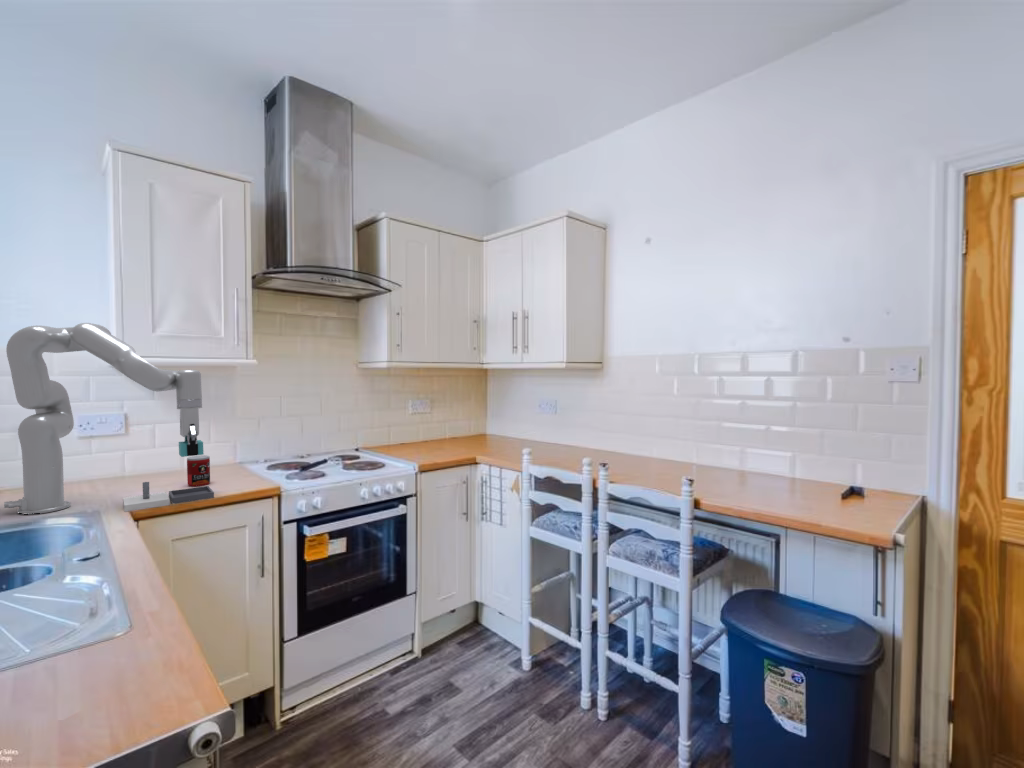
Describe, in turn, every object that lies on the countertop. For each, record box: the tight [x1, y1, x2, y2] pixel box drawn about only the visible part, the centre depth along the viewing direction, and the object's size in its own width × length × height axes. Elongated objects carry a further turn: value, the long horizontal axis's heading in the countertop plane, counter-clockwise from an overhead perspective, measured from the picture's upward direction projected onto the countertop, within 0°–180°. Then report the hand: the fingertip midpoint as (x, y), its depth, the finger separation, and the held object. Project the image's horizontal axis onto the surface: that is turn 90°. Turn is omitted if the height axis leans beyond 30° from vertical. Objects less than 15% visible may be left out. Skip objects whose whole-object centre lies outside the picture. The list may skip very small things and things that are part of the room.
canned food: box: [186, 454, 211, 488], centre depth 194 cm, size 8×8×11 cm
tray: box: [168, 485, 215, 505], centre depth 175 cm, size 12×12×2 cm
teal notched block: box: [178, 439, 205, 458], centre depth 174 cm, size 7×7×4 cm
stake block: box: [122, 481, 171, 512], centre depth 166 cm, size 12×12×8 cm
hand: (191, 453), depth 175 cm, fingers closed on teal notched block, 6 cm apart
